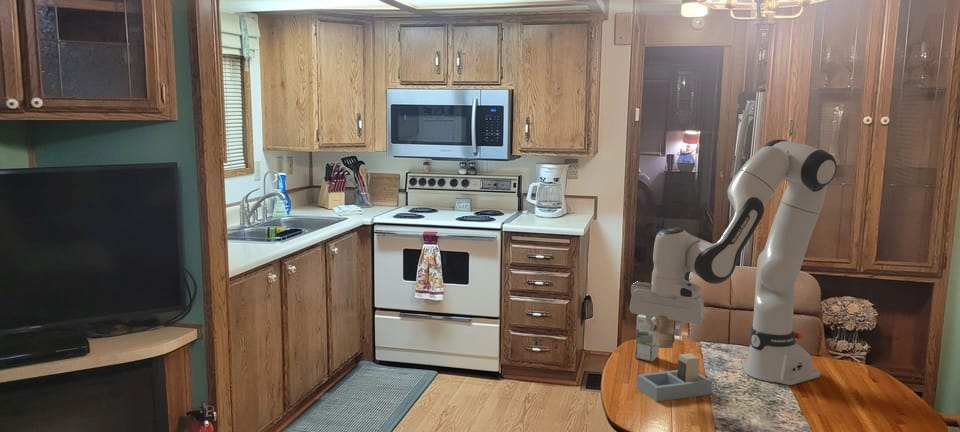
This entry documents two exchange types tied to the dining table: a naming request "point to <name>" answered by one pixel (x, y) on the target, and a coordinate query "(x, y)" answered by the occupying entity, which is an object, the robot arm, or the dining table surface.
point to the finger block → (664, 332)
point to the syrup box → (645, 340)
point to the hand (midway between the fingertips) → (664, 333)
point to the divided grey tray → (676, 381)
